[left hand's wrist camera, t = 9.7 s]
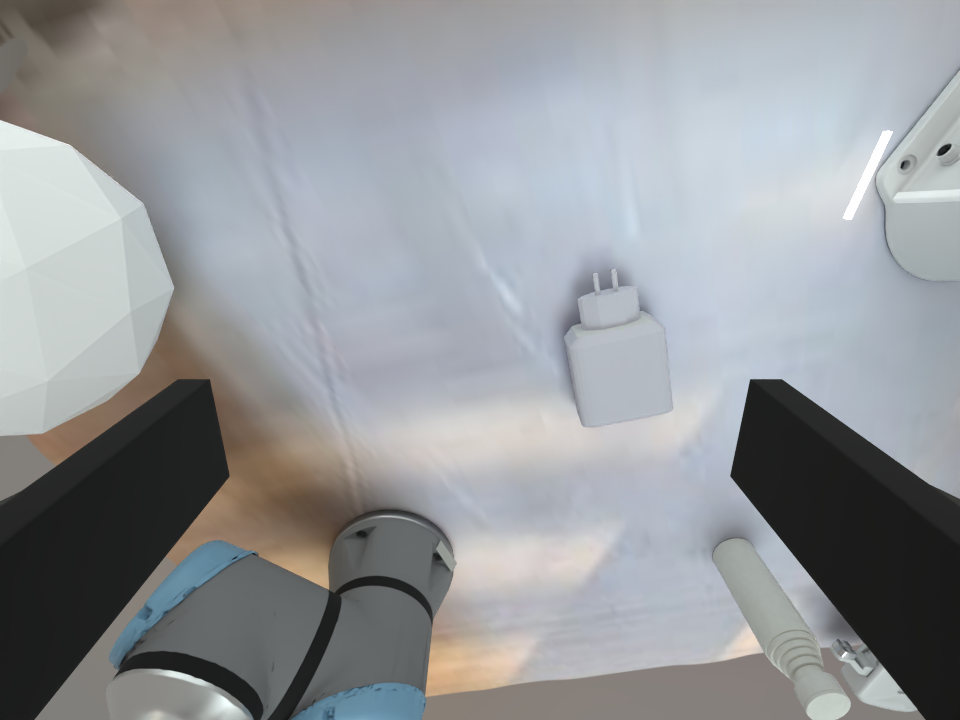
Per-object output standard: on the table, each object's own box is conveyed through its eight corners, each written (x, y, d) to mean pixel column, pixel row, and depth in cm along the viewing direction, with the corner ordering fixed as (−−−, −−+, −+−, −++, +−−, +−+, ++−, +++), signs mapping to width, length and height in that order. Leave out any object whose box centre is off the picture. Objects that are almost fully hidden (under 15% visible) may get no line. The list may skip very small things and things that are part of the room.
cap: (796, 703, 49) (808, 725, 47) (791, 676, 47) (804, 698, 45) (837, 694, 48) (852, 717, 46) (834, 667, 47) (849, 689, 45)
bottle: (715, 574, 65) (799, 726, 47) (709, 543, 63) (794, 690, 46) (756, 564, 64) (856, 715, 47) (751, 533, 62) (853, 678, 45)
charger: (645, 255, 50) (660, 391, 55) (552, 276, 50) (575, 408, 56) (661, 265, 45) (676, 412, 51) (558, 287, 46) (583, 430, 52)
